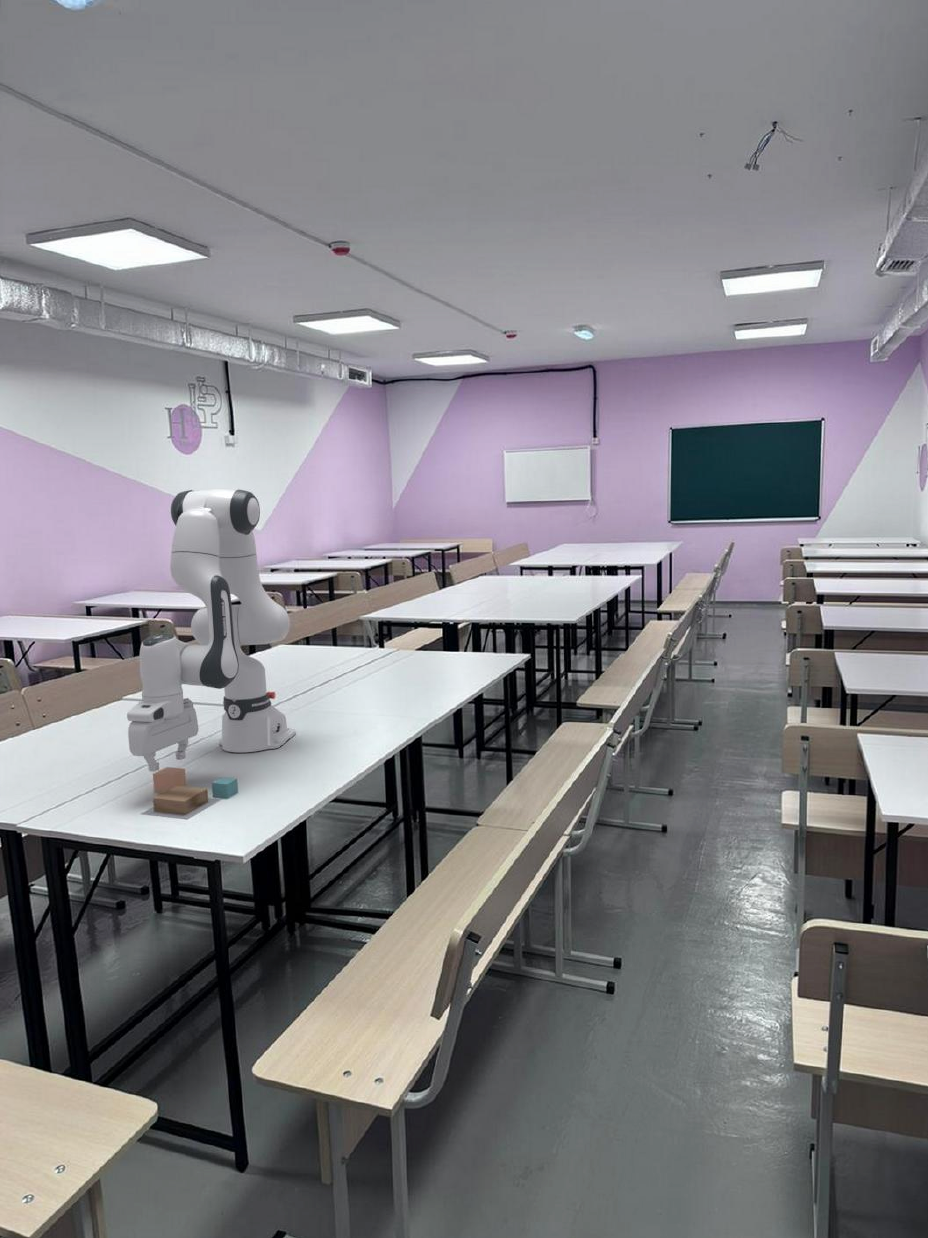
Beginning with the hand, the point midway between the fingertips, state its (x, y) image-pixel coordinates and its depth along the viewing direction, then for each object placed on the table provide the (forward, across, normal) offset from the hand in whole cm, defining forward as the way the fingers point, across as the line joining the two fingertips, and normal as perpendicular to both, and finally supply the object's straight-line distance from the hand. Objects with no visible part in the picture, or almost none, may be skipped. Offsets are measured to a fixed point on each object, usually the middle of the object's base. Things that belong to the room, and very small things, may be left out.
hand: (167, 764), depth 193 cm
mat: (+7, +8, +9) cm, 14 cm away
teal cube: (+7, -1, +14) cm, 16 cm away
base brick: (+6, +8, +9) cm, 14 cm away
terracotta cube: (+7, -1, 0) cm, 7 cm away
